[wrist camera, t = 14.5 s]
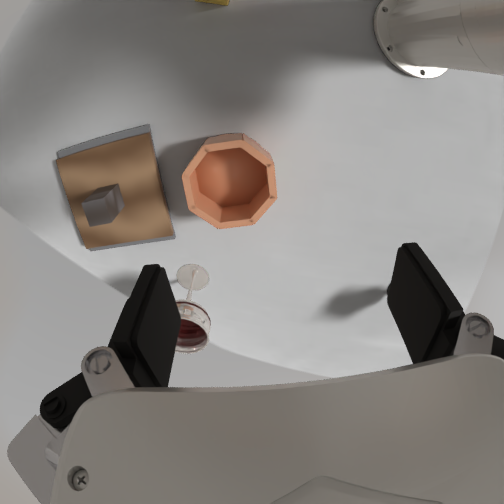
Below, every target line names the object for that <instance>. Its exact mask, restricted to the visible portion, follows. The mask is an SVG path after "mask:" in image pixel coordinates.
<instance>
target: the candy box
mask: <svg viewBox="0 0 504 504" xmlns="http://www.w3.org/2000/svg"><path fill="white" fill-rule="evenodd" d="M195 1H198V2H206V3H213V4H220V5H225V6H228V3H229V1H230V0H195Z"/></svg>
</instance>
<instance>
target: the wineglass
mask: <svg viewBox="0 0 504 504" xmlns="http://www.w3.org/2000/svg"><path fill="white" fill-rule="evenodd" d="M177 280H178V282H179V283H180V284H181V285H182V287H184V288H186V289H189V291H188V294H187V298H186V300H175V301H176V304H177V307H178V310H179V313H180V316H181V326H180V330H179V335H178V339H177V344H176V349H175V352H179V353H187V354H189V353H195V352H198V351H201V350H203V349H204V348H205V347H206V346H207V344H208V342H209V332H210V329H211V327H210V326H211V323H210V318H209V316H208V314H207V312H206V310H205V309H204V308H203V307H202V306H201V305H199V304H197V303H195V302H193V301H191V297H192V290H201V289H203V288H204V287H206V285H207V284H208V282H209V275H208V273H207V271H206V270H205V269H204V268H202V267H201V266H199V265H195V264H188V265H184V266H183V267H181V268H180V269H179V270H178V273H177Z"/></svg>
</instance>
